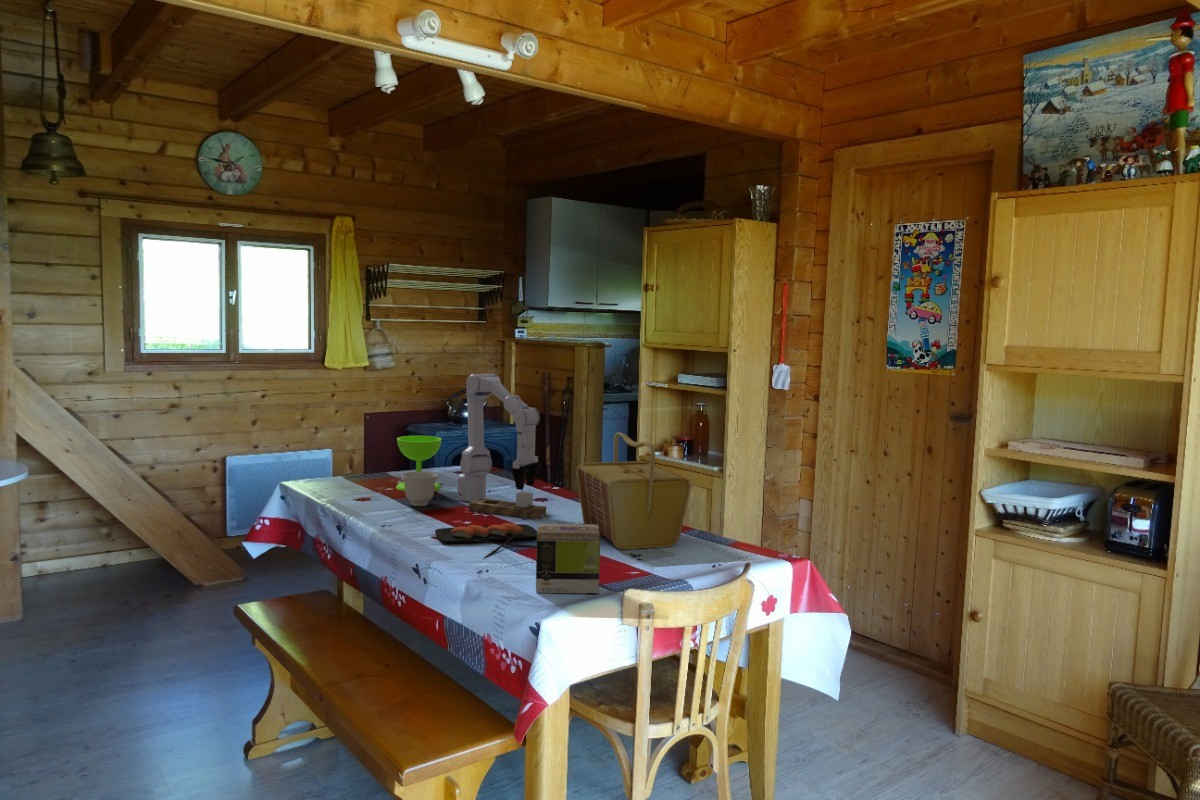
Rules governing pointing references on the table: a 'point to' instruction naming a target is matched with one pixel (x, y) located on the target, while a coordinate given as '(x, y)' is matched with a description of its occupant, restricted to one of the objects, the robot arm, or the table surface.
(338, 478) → the table surface
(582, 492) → the picnic basket
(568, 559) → the tea box
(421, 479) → the teacup
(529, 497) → the beige rectangular block
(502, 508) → the wooden compartment tray
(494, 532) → the sushi plate
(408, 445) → the wineglass
